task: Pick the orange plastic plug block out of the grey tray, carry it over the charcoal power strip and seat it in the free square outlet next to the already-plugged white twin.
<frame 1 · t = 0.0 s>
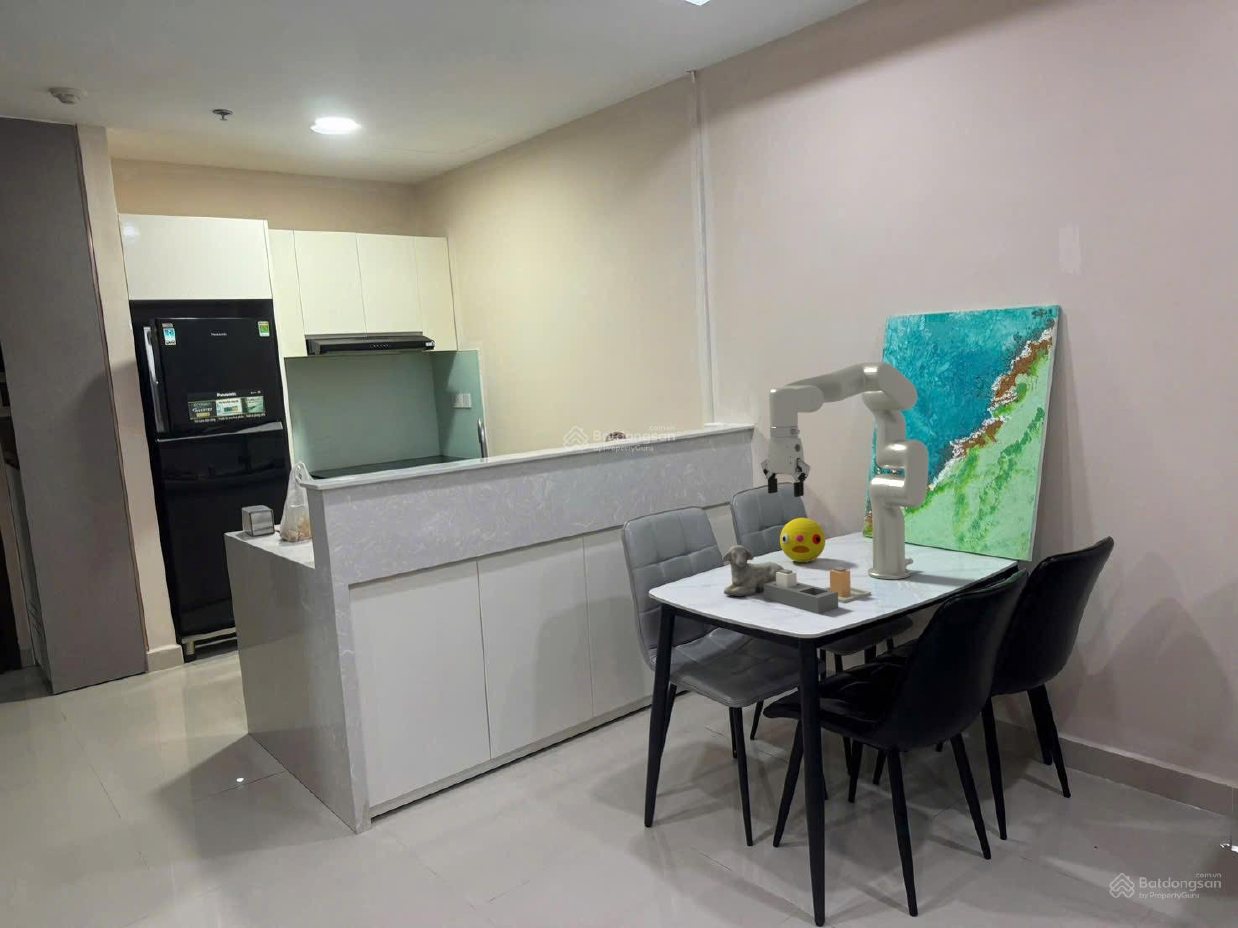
hand: (785, 494, 226), 31 cm above the table, fingers open, 9 cm apart
toy: (802, 562, 276), on the table
tray: (840, 596, 235), on the table
pdu: (800, 605, 228), on the table
sculpture: (758, 593, 244), on the table
plug: (840, 594, 235), point 1 cm above the table, touching tray
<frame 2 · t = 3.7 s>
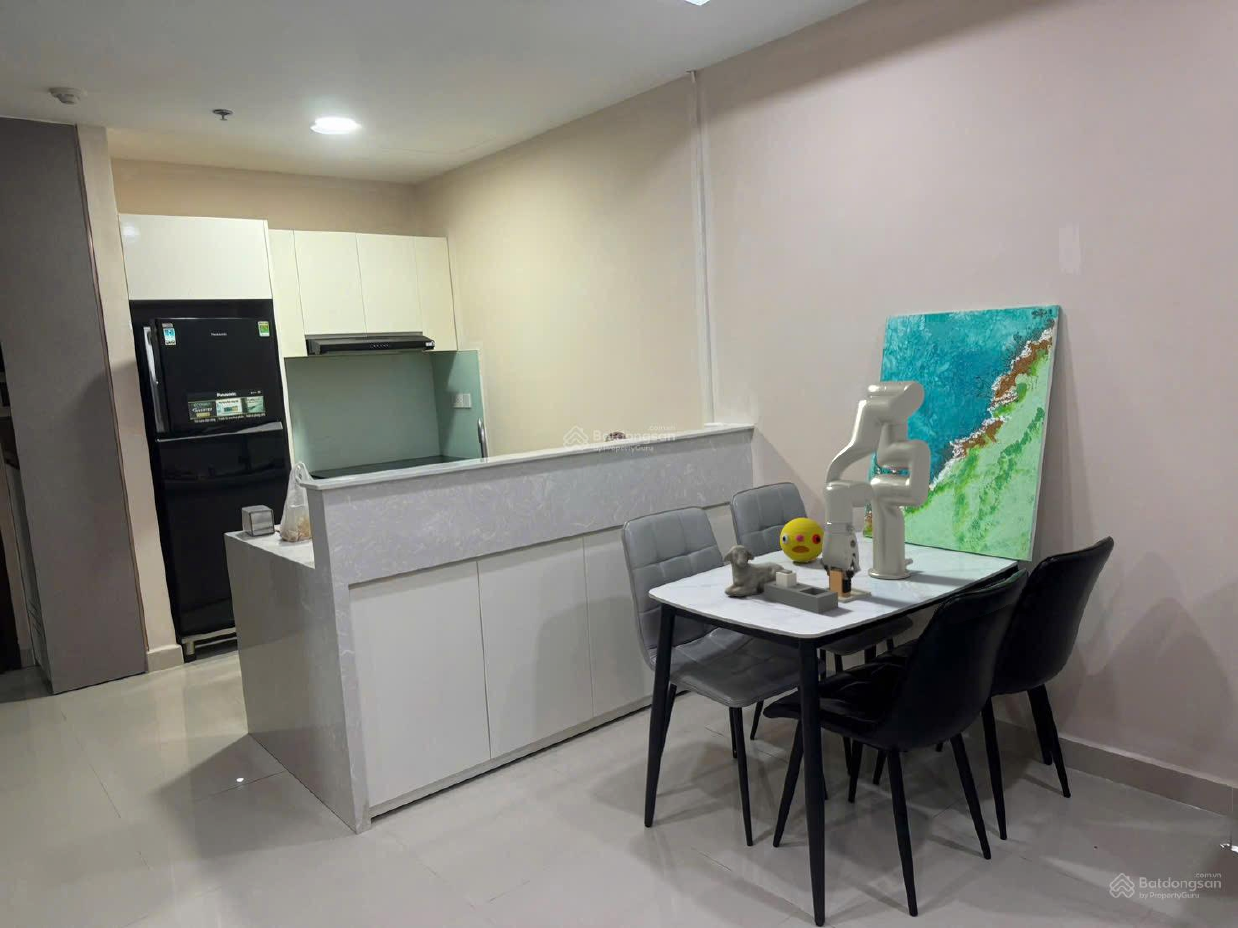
hand: (840, 589, 235), 2 cm above the table, fingers closed on plug, 4 cm apart
plug: (840, 594, 235), point 1 cm above the table, touching gripper, tray
everything else where it was.
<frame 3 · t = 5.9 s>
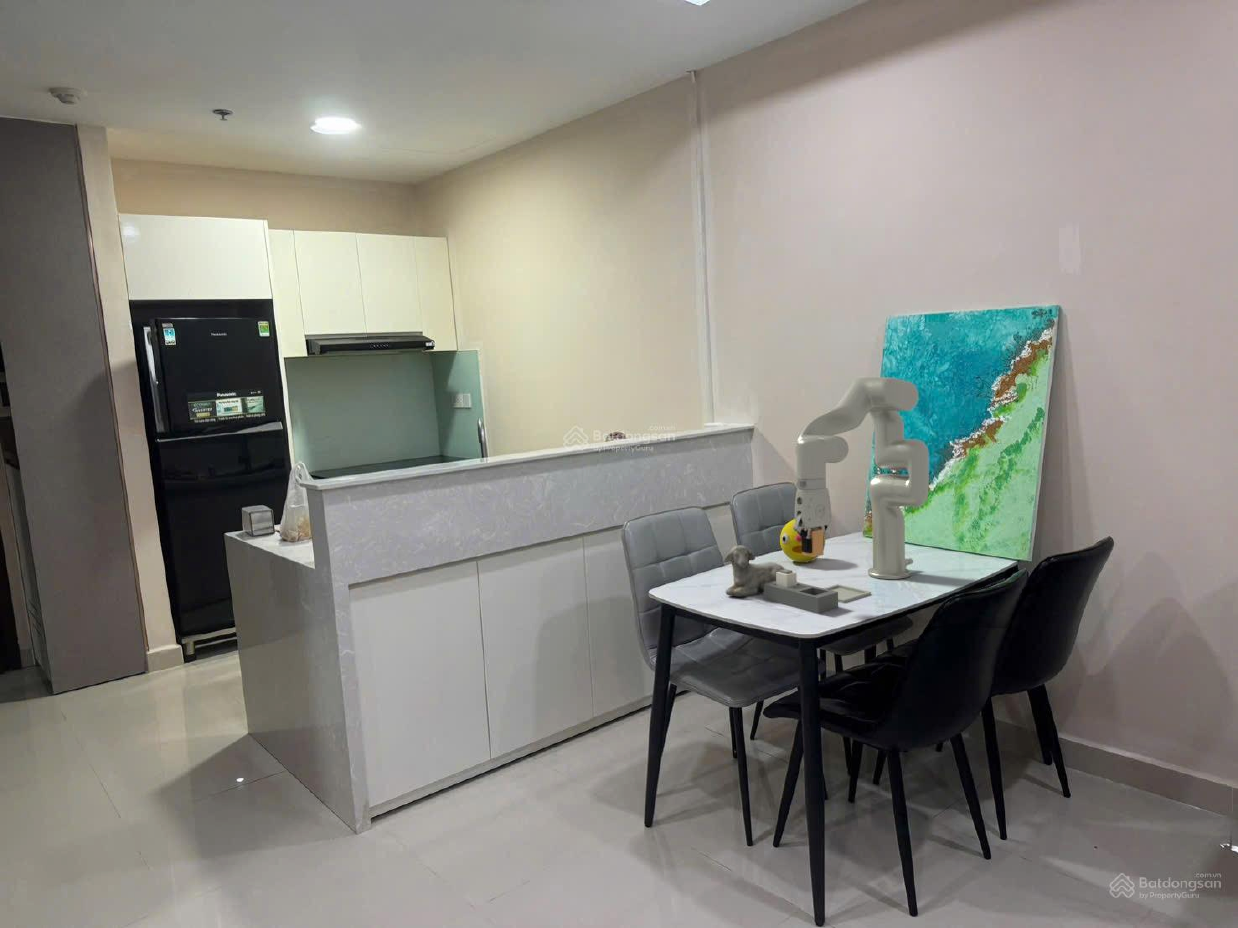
hand: (812, 550, 222), 16 cm above the table, fingers closed on plug, 4 cm apart
plug: (812, 554, 222), point 15 cm above the table, touching gripper
everything else where it was.
when the fingers open (6 cm above the table, at t = 8.4 s): plug drops 3 cm, resting on pdu.
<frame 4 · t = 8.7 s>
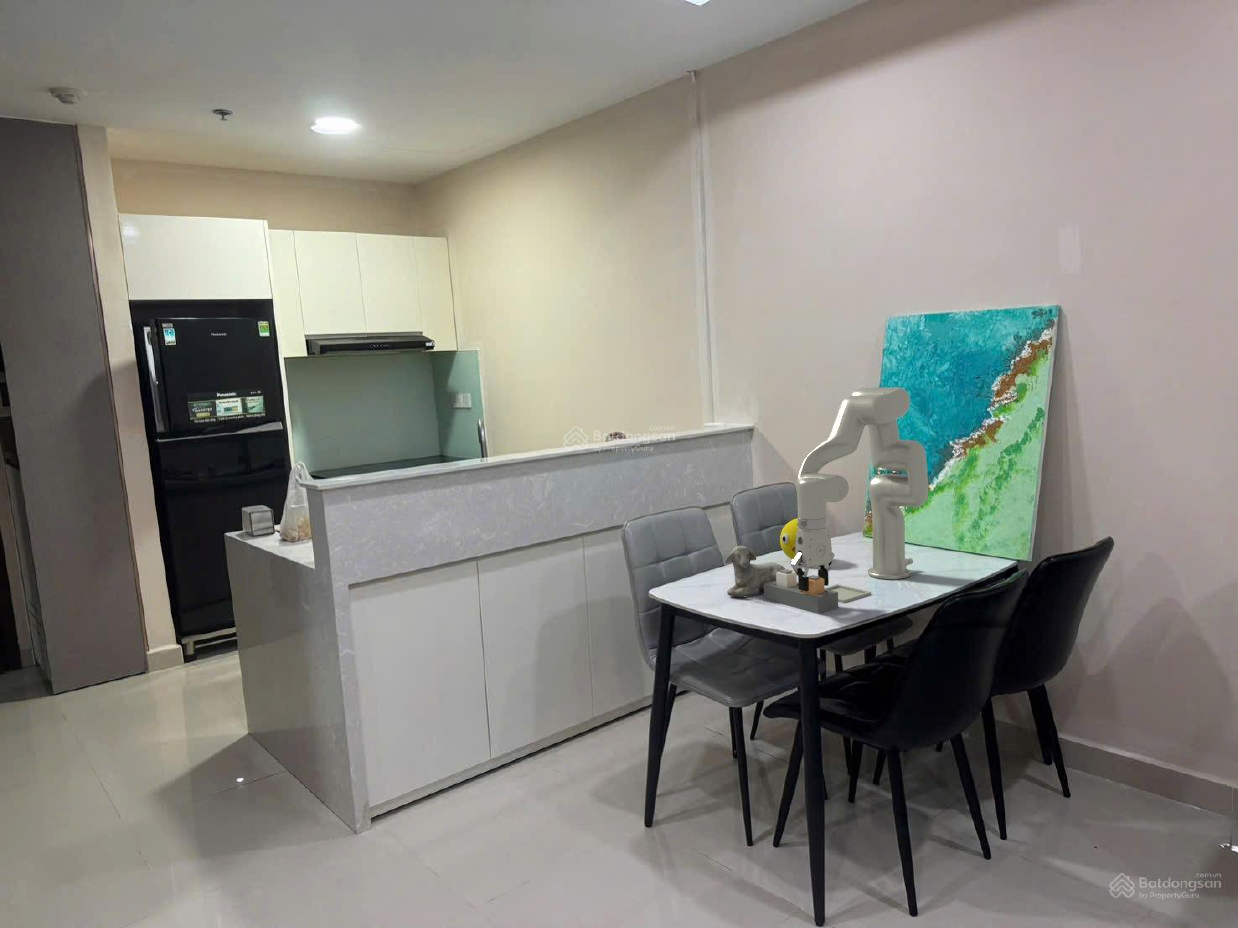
hand: (813, 587, 223), 6 cm above the table, fingers open, 7 cm apart
plug: (814, 603, 224), point 1 cm above the table, touching pdu
everything else where it was.
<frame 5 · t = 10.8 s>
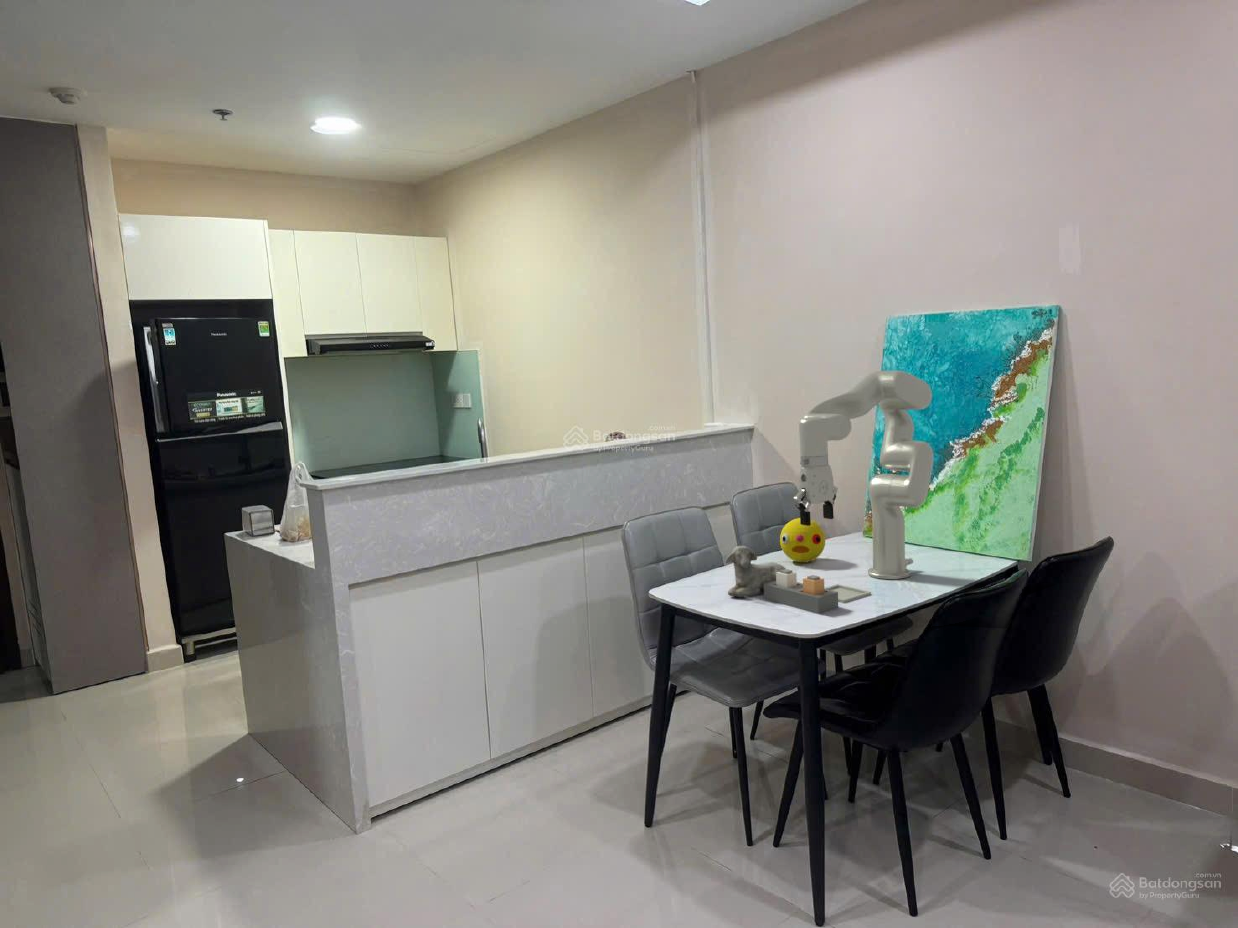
hand: (817, 521, 230), 23 cm above the table, fingers open, 9 cm apart
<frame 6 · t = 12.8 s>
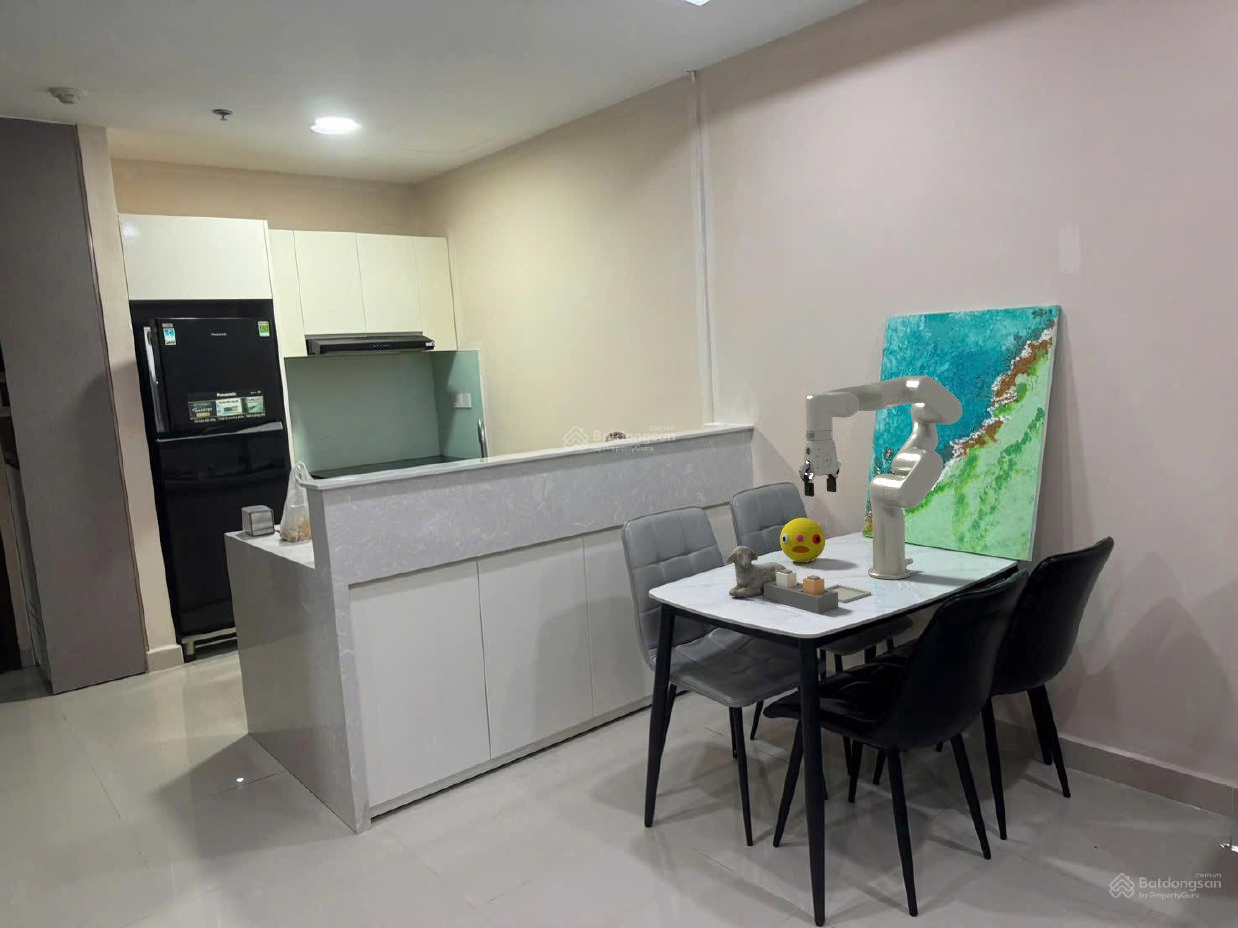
hand: (820, 493, 242), 28 cm above the table, fingers open, 9 cm apart
at the end: plug 0.1 cm from the target spot on the pdu, point 1.5 cm above the pdu's base; plug tilted 0°; the gripper is holding nothing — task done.
